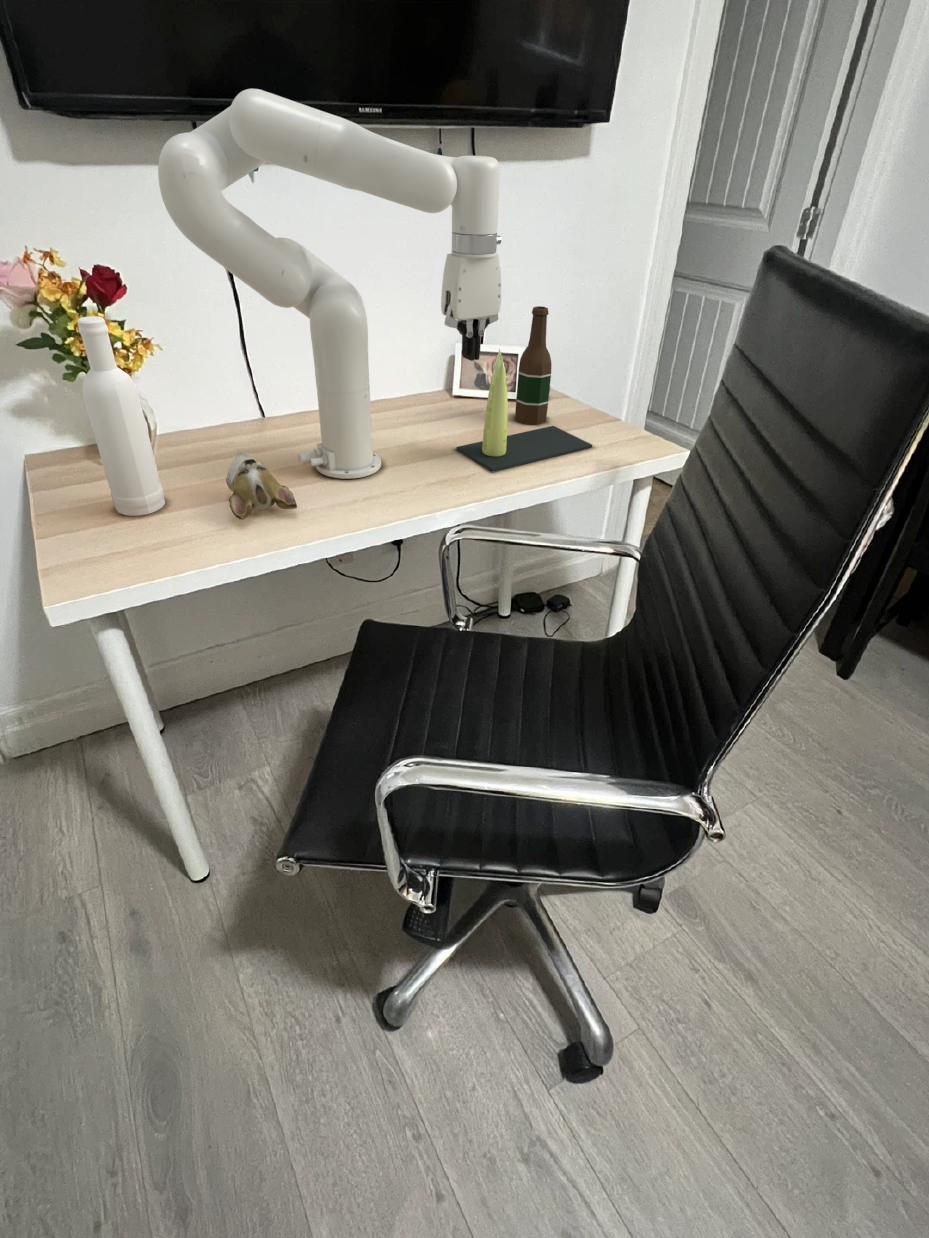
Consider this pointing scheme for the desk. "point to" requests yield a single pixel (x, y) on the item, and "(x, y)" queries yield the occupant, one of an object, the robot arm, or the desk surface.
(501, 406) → the tube
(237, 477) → the ceramic sculpture
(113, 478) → the bottle
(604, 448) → the desk surface
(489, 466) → the mat
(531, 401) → the beer bottle
